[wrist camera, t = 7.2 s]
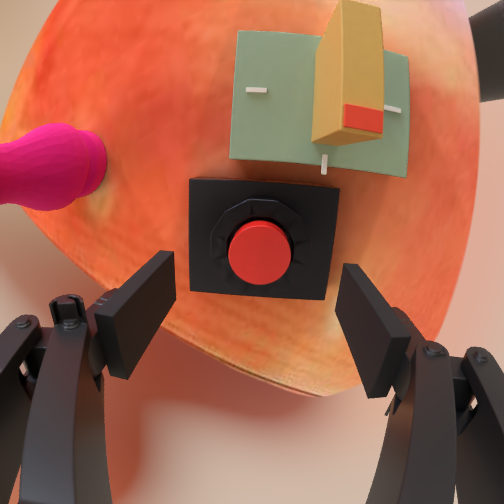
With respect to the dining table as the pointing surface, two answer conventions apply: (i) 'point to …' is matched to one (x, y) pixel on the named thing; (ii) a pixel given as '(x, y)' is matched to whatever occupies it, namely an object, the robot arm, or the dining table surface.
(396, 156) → the plate
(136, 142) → the dining table surface
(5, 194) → the pepper mill
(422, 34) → the dining table surface
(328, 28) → the handle
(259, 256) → the button
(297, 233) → the button block
